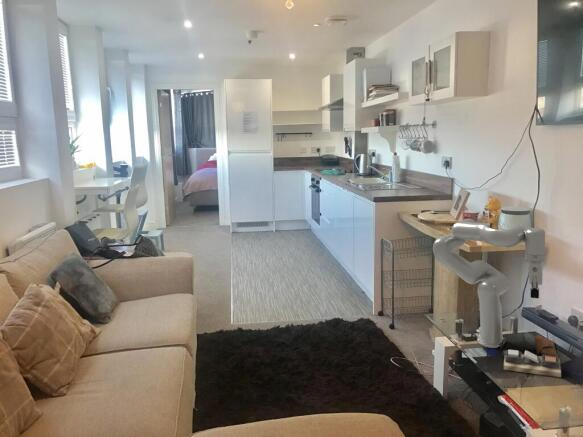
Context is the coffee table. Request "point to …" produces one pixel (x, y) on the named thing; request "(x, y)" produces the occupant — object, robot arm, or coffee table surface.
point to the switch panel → (532, 365)
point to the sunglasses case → (545, 346)
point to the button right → (550, 358)
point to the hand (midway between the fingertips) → (534, 297)
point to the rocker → (532, 356)
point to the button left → (513, 353)
